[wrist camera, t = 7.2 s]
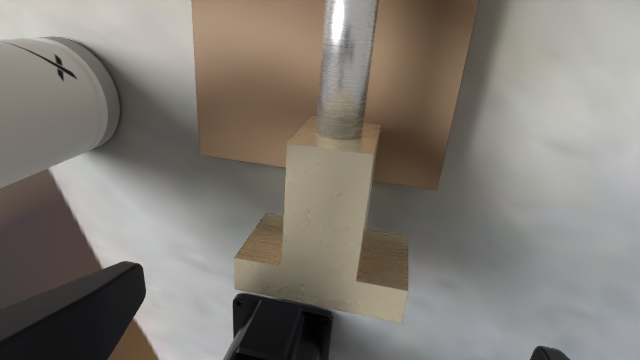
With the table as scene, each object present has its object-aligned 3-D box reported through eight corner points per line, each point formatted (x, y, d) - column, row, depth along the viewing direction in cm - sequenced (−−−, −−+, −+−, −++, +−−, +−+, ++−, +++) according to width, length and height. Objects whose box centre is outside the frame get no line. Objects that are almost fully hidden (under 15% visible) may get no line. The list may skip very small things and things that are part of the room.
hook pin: (402, 264, 19) (401, 323, 15) (265, 239, 20) (234, 288, 16) (467, -65, 13) (491, -97, 10) (273, -75, 14) (227, -107, 11)
